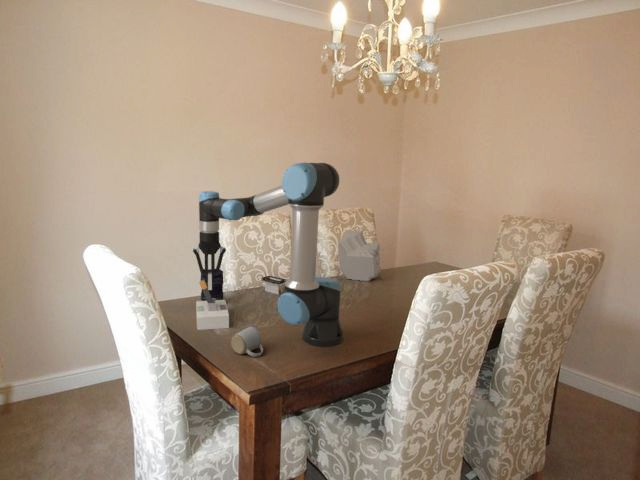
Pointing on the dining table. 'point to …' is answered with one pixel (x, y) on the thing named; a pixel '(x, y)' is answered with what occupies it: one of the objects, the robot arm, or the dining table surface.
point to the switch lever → (206, 291)
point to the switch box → (212, 315)
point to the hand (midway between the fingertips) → (209, 289)
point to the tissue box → (358, 257)
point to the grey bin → (273, 284)
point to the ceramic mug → (247, 342)
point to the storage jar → (214, 286)
